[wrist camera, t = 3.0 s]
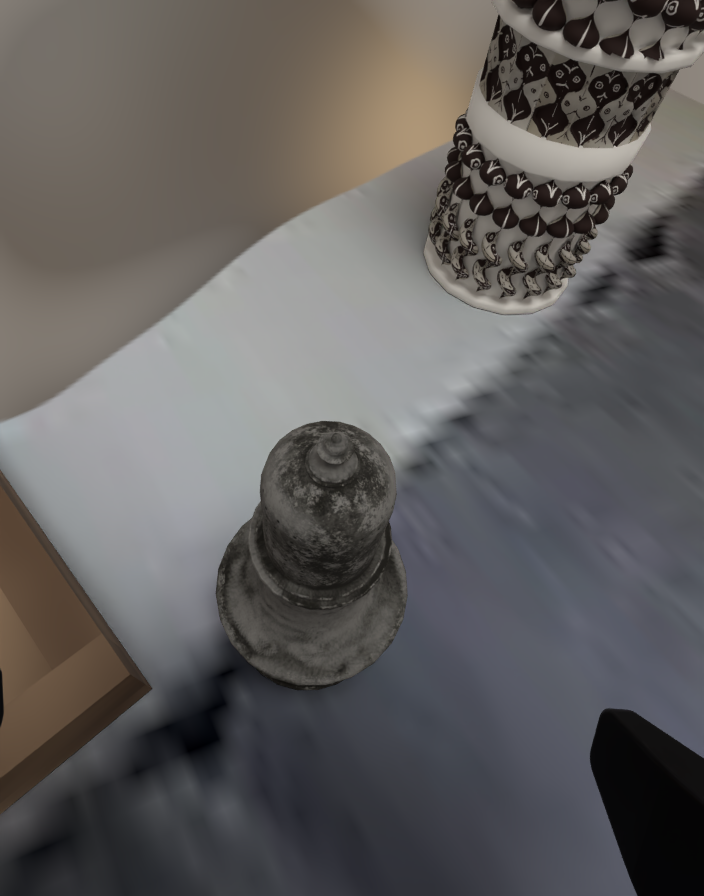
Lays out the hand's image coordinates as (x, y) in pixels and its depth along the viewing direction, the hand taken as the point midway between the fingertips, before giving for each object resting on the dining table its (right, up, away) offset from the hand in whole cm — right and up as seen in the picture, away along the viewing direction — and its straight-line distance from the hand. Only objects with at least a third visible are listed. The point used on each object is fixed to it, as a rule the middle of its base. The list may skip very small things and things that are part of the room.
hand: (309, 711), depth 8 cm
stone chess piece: (-1, -2, +12) cm, 12 cm away
